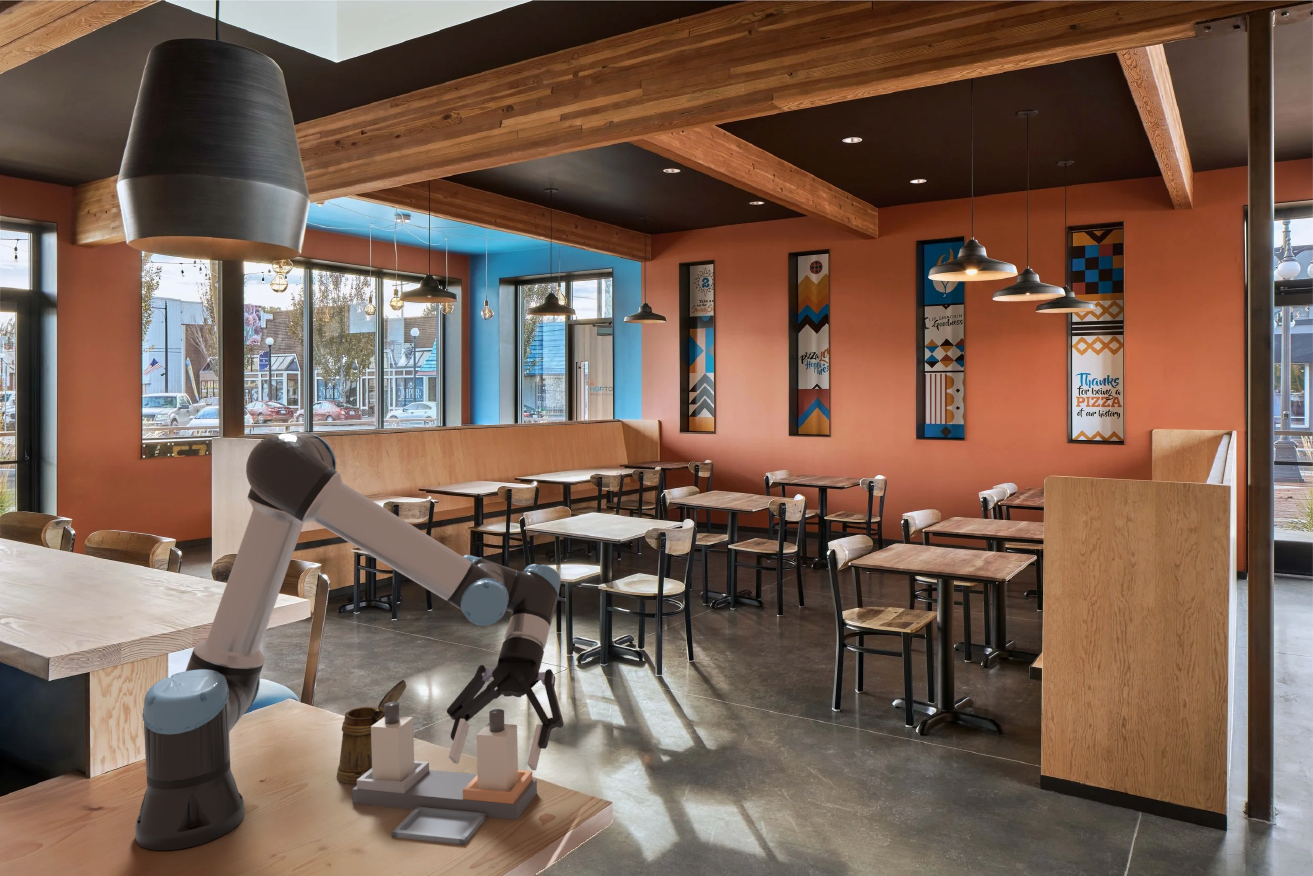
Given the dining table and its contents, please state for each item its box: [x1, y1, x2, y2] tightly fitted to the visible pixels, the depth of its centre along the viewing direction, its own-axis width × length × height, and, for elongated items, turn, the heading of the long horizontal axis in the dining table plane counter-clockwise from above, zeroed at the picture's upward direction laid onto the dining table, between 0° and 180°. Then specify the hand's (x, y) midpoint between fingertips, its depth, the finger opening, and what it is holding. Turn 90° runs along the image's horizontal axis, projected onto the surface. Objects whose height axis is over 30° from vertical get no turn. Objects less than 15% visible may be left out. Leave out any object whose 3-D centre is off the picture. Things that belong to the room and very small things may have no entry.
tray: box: [391, 807, 487, 846], centre depth 130 cm, size 12×8×1 cm, turn 78°
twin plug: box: [371, 701, 415, 782], centre depth 141 cm, size 5×5×13 cm
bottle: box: [476, 708, 519, 792], centre depth 137 cm, size 5×5×13 cm
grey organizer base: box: [351, 760, 538, 821], centre depth 139 cm, size 29×9×4 cm, turn 78°
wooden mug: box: [336, 679, 407, 785], centre depth 150 cm, size 9×14×18 cm, turn 72°
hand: (492, 764), depth 135 cm, fingers open, 13 cm apart
